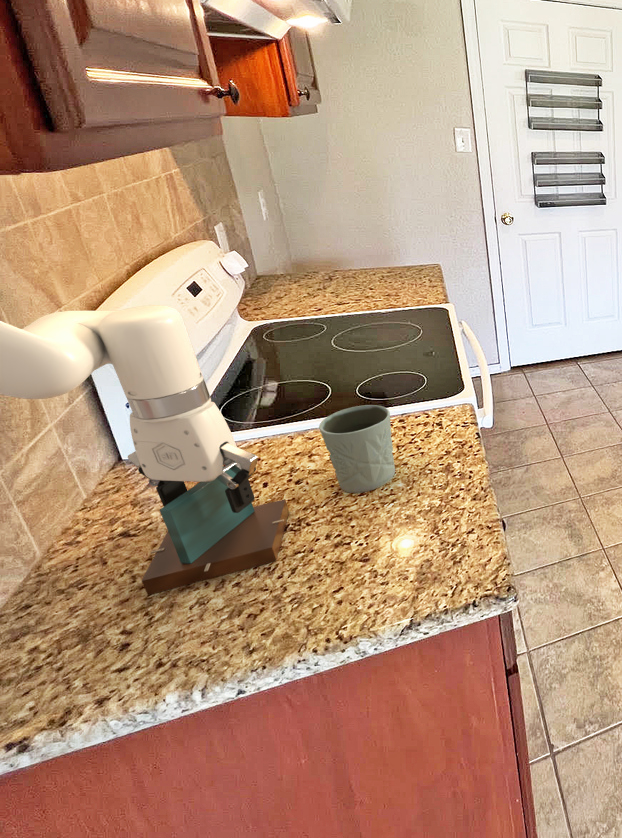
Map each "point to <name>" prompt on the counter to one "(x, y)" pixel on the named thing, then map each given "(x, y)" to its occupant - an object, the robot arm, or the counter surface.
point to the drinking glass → (360, 447)
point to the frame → (201, 518)
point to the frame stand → (222, 551)
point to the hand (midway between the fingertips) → (211, 505)
